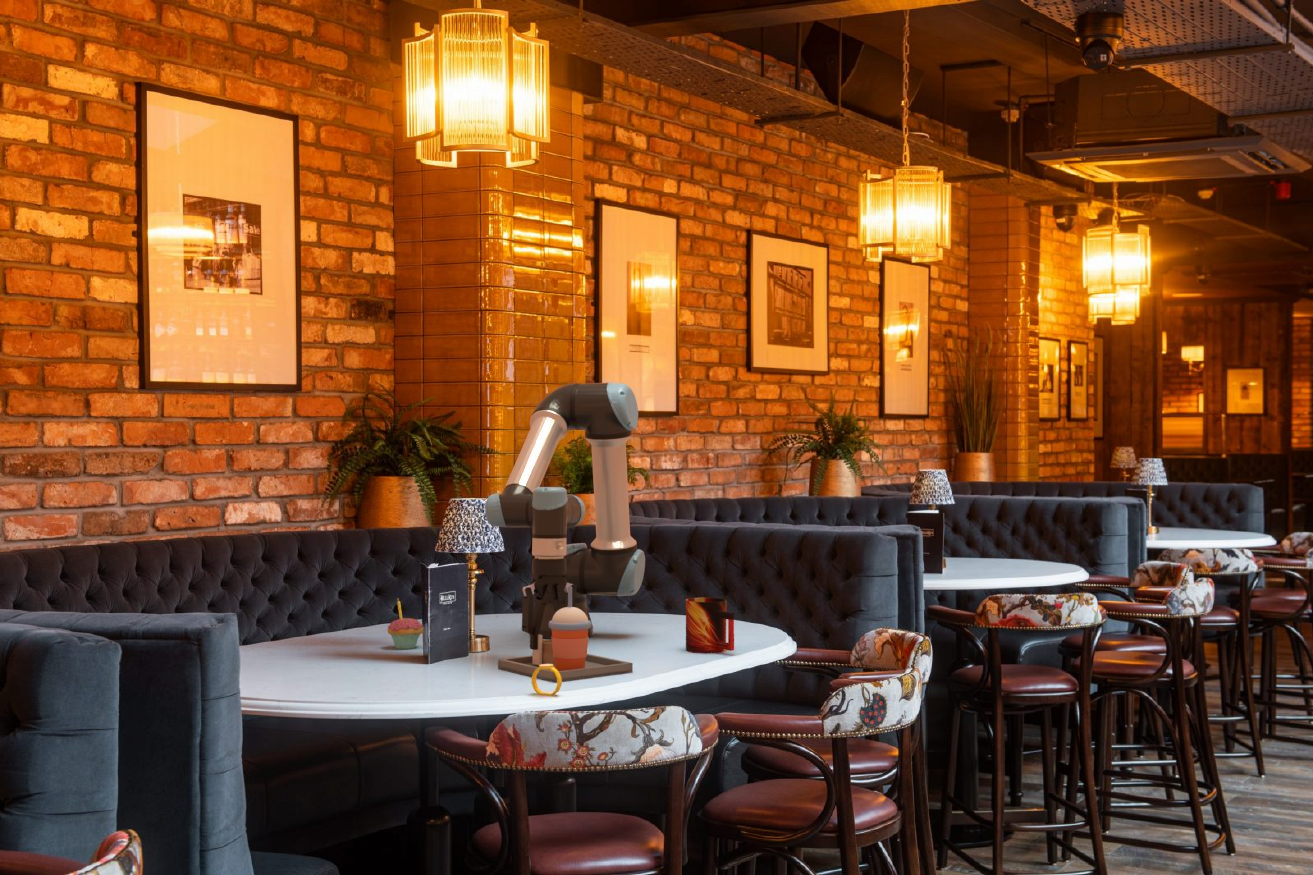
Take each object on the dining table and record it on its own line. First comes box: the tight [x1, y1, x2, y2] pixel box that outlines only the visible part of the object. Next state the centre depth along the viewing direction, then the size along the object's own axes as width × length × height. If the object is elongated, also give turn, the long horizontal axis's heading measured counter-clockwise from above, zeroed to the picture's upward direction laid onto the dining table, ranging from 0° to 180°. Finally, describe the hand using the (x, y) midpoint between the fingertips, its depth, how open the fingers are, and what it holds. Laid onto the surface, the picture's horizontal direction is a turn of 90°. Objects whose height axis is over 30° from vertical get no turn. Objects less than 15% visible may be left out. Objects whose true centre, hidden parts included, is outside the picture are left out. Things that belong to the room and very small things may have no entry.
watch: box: [531, 664, 562, 696], centre depth 269 cm, size 6×3×6 cm, turn 67°
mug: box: [685, 597, 735, 654], centre depth 326 cm, size 10×14×12 cm
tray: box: [497, 653, 634, 683], centre depth 297 cm, size 22×20×2 cm
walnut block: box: [542, 638, 555, 666], centre depth 302 cm, size 5×5×5 cm
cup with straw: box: [549, 587, 592, 671], centre depth 292 cm, size 9×9×18 cm
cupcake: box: [387, 597, 424, 650], centre depth 330 cm, size 9×8×12 cm
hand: (548, 663), depth 302 cm, fingers open, 5 cm apart
